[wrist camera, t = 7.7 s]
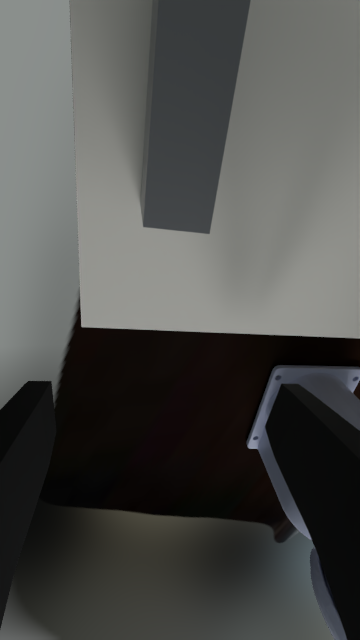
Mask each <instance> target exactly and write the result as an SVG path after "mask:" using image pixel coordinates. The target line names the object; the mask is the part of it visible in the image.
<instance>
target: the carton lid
mask: <svg viewBox="0 0 360 640" xmlns="http://www.w3.org/2000/svg"><path fill="white" fill-rule="evenodd" d="M70 23H71V24H70V25H71V53H72V80H73V107H74V135H75V162H76V191H77V217H78V218H77V219H78V245H79V273H80V301H81V327H95V328H119V329H143V330H168V331H192V332H216V333H241V334H265V335H289V336H314V337H338V338H360V0H70Z"/></svg>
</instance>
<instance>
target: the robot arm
mask: <svg viewBox="0 0 360 640" xmlns="http://www.w3.org/2000/svg"><path fill="white" fill-rule="evenodd" d="M276 376H278V377H276ZM359 380H360V367H345V366H296V365H278V366H275V367H274V368H273V370H272V373H271V375H270V378H269V381H268V384H267V387H266V389H265V392H264V395H263V398H262V401H261V404H260V406H259V409H258V412H257V415H256V418H255V420H254V423H253V426H252V429H251V432H250V434H249V437H248V440H247V446H248V448H250V449H258V450H259V453H260V455H261V458H262V460H263V462H264V465H265V467H266V469H267V472H268V474H269V477H270V479H271V481H272V484H273V486H274V488H275V491H276V493H277V496H278V498H279V500H280V503H281V505H282V507H283V510H284V511H285V513H286V515H287V517H288V518H289V520H290V521H291V522H292V523H293V525H294V526H295V527H296V528H297V529H298V530H299V531H300V532H301V533H302V534H304V535H305V536H306V537H307V538H309V539H310V540H312V541H313V544H314V546H315V547H314V548H313V549H312V551H311V555H310V566H311V580H312V585H313V589H314V593H315V596H316V599H317V602H318V605H319V607H320V610H321V612H322V615H323V617H324V619H325V622H326V624H327V626H328V628H329V630H330V632H331V634H332V636H333V638H334V640H360V400H359V399H358V398H357V397H356V396H355V395H354V394H353V391H354V390H355V388H356V386H357V384H358V382H359ZM55 435H56V423H55V413H54V403H53V394H52V384H51V381H28V382H27V383H26V384H24V386H23V387H22V388H21V389H20V390H19V391H18V392H17V393H16V394H15V395H14V396H13V397H12V398H11V399H10V400H9V401H8V402H7V404H5V406H4V407H3V408H2V409H1V410H0V628H1V624H2V620H3V616H4V611H5V607H6V603H7V599H8V595H9V591H10V587H11V583H12V579H13V575H14V572H15V569H16V565H17V562H18V558H19V555H20V552H21V549H22V546H23V543H24V540H25V537H26V534H27V531H28V528H29V525H30V522H31V519H32V516H33V513H34V510H35V507H36V504H37V501H38V498H39V495H40V492H41V489H42V486H43V483H44V479H45V476H46V473H47V470H48V467H49V463H50V458H51V454H52V449H53V444H54V440H55Z"/></svg>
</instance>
